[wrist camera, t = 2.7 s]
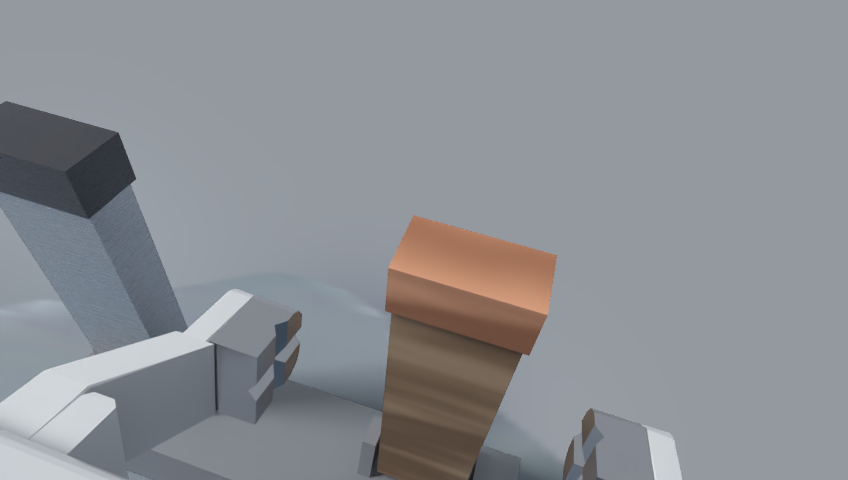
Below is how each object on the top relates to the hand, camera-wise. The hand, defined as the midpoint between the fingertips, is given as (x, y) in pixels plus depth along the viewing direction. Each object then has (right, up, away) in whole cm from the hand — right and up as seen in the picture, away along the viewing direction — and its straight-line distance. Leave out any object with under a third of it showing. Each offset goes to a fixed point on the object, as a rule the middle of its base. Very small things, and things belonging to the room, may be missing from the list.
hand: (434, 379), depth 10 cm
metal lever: (-18, -7, +23) cm, 30 cm away
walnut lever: (0, -11, +21) cm, 24 cm away
